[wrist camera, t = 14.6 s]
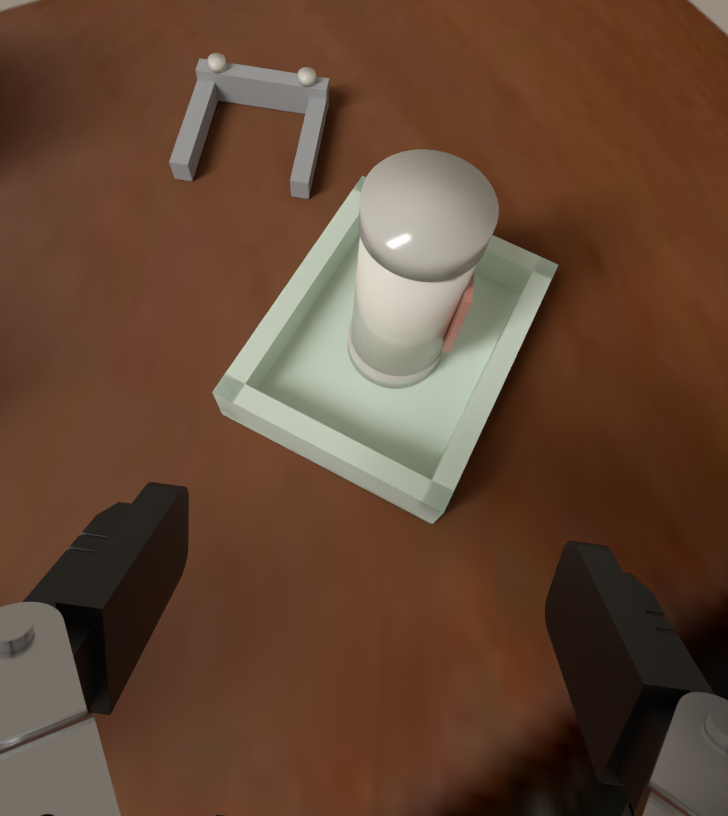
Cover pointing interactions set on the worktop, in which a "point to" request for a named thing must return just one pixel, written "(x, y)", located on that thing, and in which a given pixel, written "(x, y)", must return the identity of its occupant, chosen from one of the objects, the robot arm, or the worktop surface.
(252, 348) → the tray
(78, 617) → the robot arm
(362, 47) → the worktop surface
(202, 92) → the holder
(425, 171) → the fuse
